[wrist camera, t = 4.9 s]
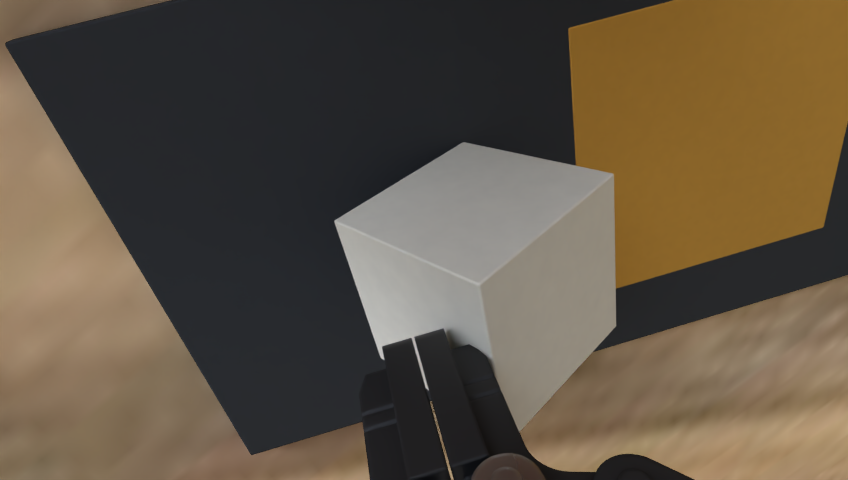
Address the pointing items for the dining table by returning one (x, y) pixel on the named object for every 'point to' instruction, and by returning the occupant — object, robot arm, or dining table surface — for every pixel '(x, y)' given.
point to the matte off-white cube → (492, 264)
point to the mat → (429, 139)
